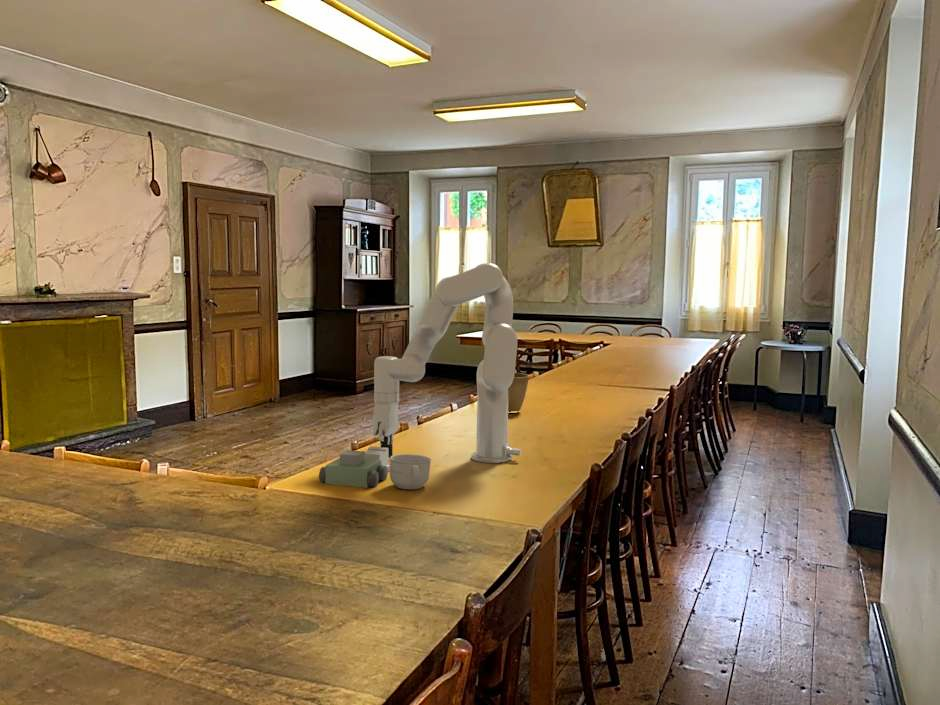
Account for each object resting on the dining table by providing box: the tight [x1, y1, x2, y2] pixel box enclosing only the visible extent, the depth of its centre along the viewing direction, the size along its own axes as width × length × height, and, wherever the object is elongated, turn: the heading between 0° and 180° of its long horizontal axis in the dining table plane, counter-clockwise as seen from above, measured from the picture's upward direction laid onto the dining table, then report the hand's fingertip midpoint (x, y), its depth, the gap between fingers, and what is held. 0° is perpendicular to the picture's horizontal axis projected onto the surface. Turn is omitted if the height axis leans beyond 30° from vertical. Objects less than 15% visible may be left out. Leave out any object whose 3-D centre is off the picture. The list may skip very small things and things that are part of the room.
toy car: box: [318, 449, 390, 489], centre depth 200 cm, size 16×19×8 cm
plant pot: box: [508, 372, 530, 412], centre depth 302 cm, size 15×15×16 cm
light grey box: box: [365, 446, 390, 466], centre depth 210 cm, size 6×7×6 cm
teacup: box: [389, 453, 432, 490], centre depth 189 cm, size 14×11×8 cm
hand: (386, 456), depth 219 cm, fingers closed
